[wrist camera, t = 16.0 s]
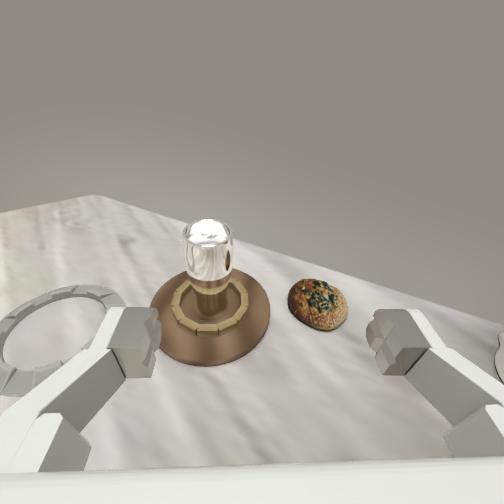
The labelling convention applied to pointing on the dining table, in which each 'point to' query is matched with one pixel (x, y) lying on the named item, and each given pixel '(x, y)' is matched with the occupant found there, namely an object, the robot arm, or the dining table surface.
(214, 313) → the beer glass
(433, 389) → the robot arm
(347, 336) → the dining table surface
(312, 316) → the bread roll
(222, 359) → the round tray
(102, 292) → the ring
